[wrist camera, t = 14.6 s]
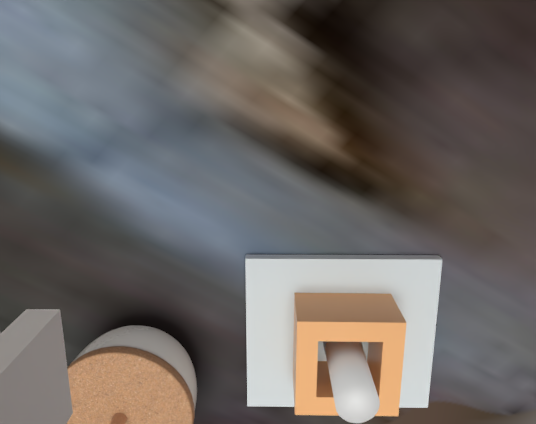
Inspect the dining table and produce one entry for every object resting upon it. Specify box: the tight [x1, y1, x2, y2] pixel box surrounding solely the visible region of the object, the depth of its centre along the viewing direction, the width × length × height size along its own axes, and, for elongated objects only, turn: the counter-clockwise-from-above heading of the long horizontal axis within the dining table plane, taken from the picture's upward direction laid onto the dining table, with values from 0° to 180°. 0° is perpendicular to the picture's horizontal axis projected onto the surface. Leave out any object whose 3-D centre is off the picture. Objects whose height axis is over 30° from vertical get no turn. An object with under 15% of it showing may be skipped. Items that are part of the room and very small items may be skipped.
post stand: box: [245, 254, 442, 423], centre depth 38 cm, size 14×16×10 cm
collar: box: [293, 293, 407, 416], centre depth 40 cm, size 8×8×5 cm
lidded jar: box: [67, 325, 197, 424], centre depth 39 cm, size 11×11×9 cm
